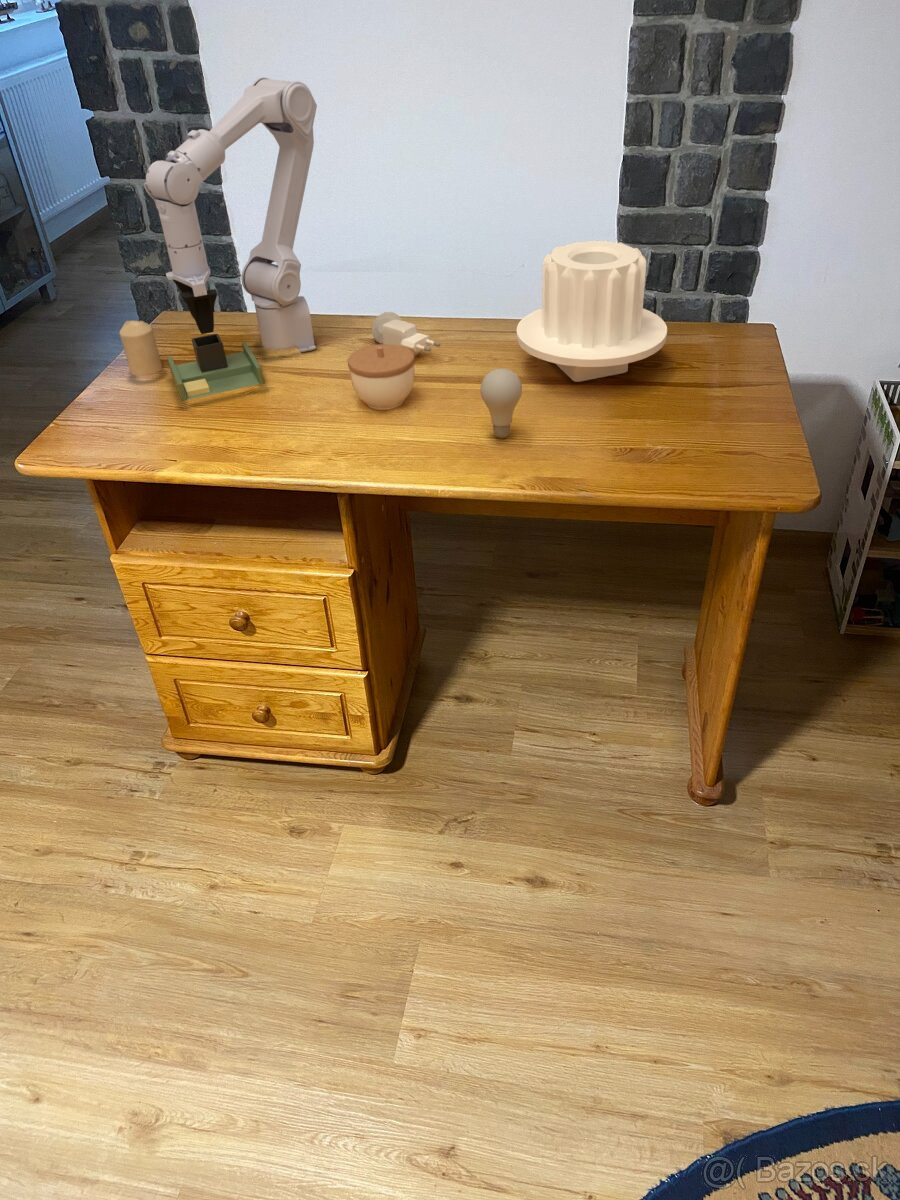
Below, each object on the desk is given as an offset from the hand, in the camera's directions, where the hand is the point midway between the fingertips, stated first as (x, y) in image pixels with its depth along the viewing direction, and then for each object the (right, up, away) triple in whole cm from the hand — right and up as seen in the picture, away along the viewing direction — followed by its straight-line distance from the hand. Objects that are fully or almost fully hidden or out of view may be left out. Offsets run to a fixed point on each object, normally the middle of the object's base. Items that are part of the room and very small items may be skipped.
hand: (203, 324), depth 154 cm
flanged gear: (+66, -7, +3) cm, 66 cm away
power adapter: (+35, -4, +9) cm, 37 cm away
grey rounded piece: (+31, +2, +16) cm, 35 cm away
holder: (0, -6, +5) cm, 7 cm away
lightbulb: (+50, -22, -15) cm, 57 cm away
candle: (-12, -7, +9) cm, 16 cm away
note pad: (-1, -11, 0) cm, 11 cm away
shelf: (+2, -9, +4) cm, 10 cm away
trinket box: (+31, -14, -4) cm, 35 cm away
